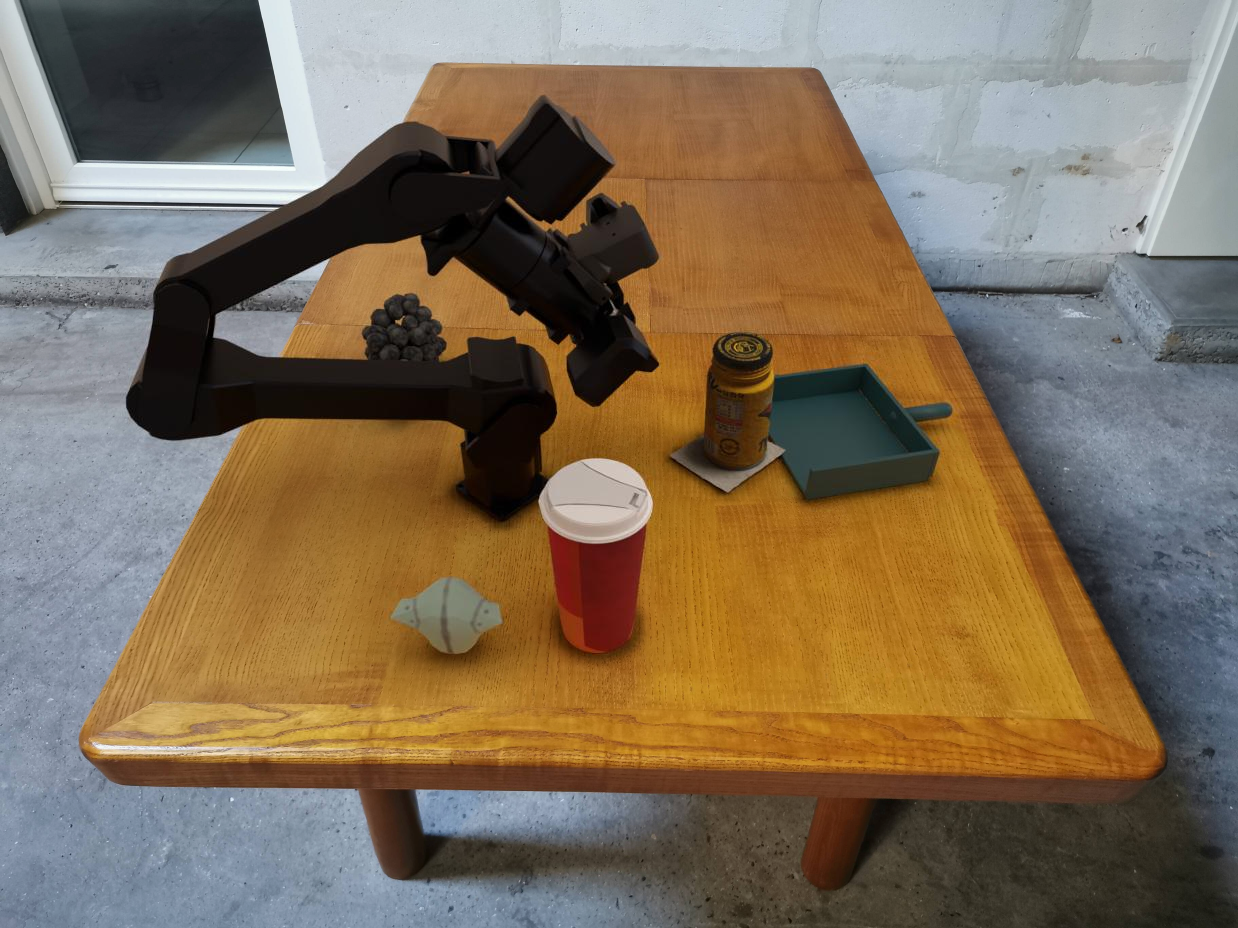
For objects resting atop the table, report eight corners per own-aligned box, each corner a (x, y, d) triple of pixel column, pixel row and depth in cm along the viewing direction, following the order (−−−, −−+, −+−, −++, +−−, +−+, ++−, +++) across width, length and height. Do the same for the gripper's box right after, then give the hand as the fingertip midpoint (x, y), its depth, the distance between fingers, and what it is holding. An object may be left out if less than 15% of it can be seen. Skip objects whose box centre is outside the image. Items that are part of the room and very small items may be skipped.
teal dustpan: (806, 500, 80) (812, 471, 77) (749, 405, 91) (753, 378, 89) (987, 471, 83) (997, 443, 81) (910, 383, 94) (917, 356, 92)
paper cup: (659, 601, 70) (667, 467, 61) (628, 676, 64) (632, 540, 56) (568, 577, 72) (562, 443, 63) (530, 648, 66) (518, 512, 57)
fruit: (403, 352, 81) (425, 272, 92) (323, 376, 83) (355, 294, 94) (444, 421, 87) (460, 338, 98) (368, 443, 88) (393, 358, 99)
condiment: (785, 451, 84) (798, 345, 77) (727, 494, 80) (735, 385, 72) (727, 419, 88) (734, 315, 81) (669, 458, 84) (670, 352, 76)
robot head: (397, 666, 65) (383, 605, 61) (410, 623, 68) (397, 562, 64) (505, 672, 65) (498, 611, 60) (513, 628, 68) (507, 567, 64)
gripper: (624, 236, 57) (764, 361, 66) (569, 137, 71) (691, 251, 80) (510, 353, 60) (658, 456, 70) (479, 236, 74) (605, 335, 83)
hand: (654, 366), depth 76 cm, fingers closed
